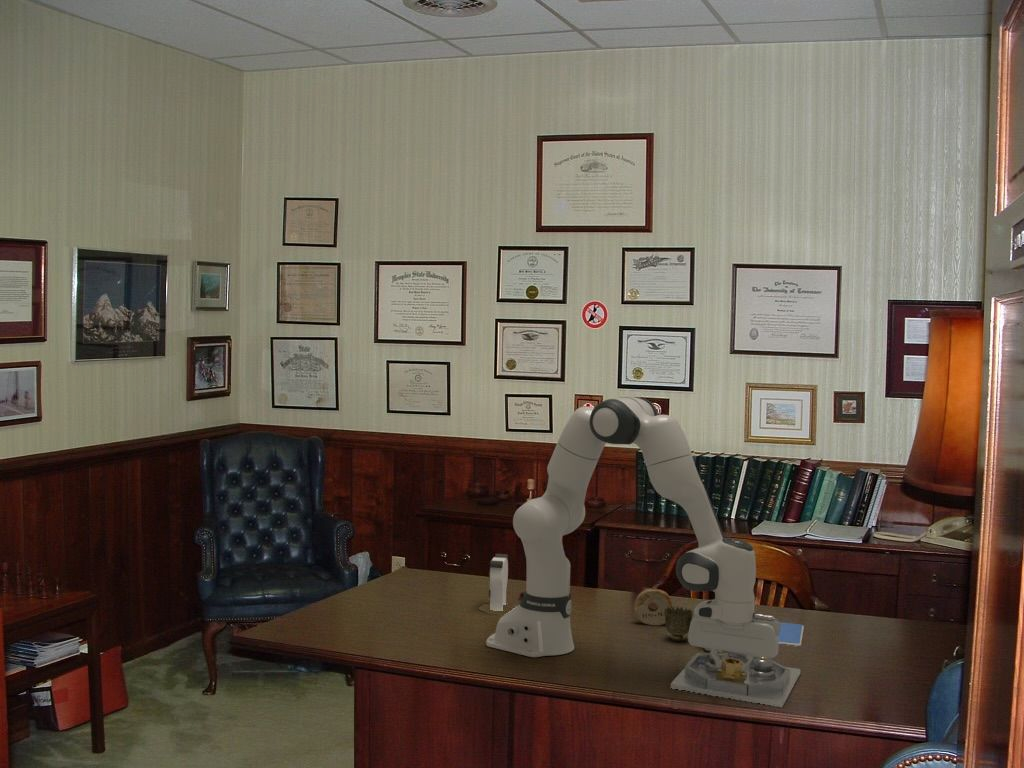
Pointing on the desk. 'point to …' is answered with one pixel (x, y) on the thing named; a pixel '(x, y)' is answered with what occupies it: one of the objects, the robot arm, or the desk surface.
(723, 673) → the flanged octagonal bushing
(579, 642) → the desk surface
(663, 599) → the stone disc
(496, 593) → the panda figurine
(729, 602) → the robot arm
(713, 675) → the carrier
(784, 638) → the tablet computer
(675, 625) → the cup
